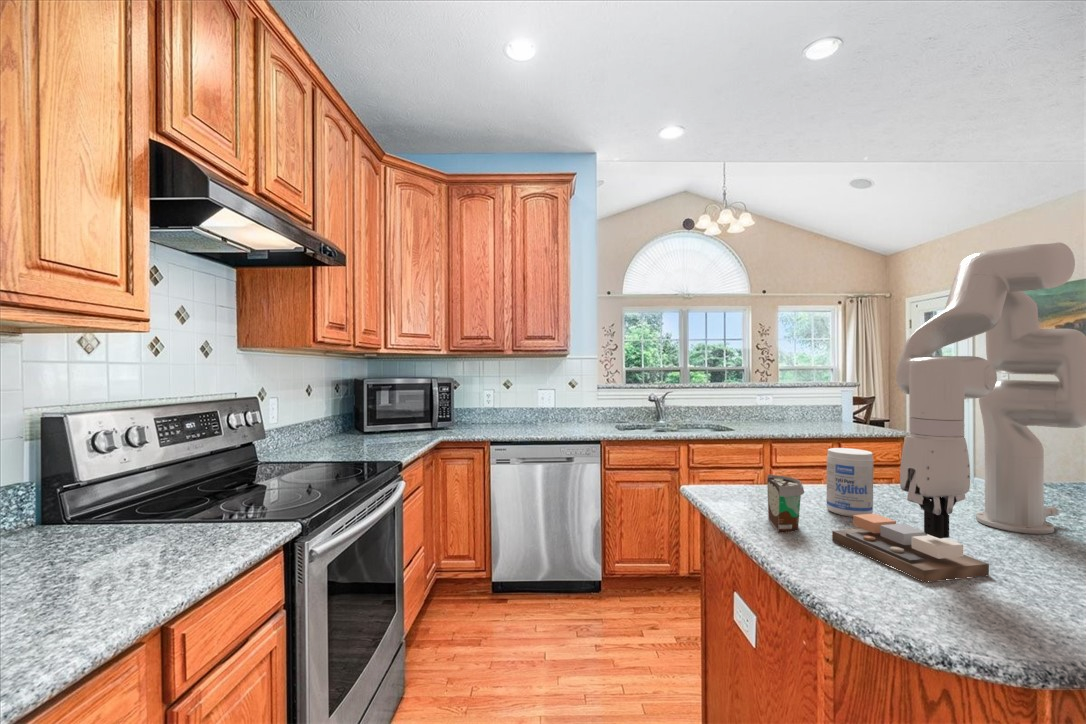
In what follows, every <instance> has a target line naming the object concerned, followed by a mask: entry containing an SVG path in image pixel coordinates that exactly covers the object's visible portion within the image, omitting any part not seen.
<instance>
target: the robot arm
mask: <svg viewBox="0 0 1086 724" xmlns="http://www.w3.org/2000/svg"><path fill="white" fill-rule="evenodd" d="M1075 266H1076V260H1075V256H1074V252H1073V250H1072V249H1071V247H1069V246H1068V245H1067V244H1065V243H1064V242H1052V243H1038V244H1027V245H1021V246H1014V247H1013V246H1012V247H1006V248H999V249H998V248H997V249H993V250H985V251H979V252H976V253H973V254H971V255H968V256H967V257H964V259H963V260H962V261H961V262H960V263H959V265H958V267H957V269H956V272H955V276H954V277H953V281H952V284H951V287H950V291H949V295H948V297H947V300H946V303H945V306H944V310H942V311H941V312H940V313H937V314H936V315H934V316H933V317H932V318H930V319H929V320H927V321H926V322H924V324H922V325H921V326H920V327H918V328H917V329H916V330H915V331H913V332H912V333H911V334H910V336H909V337H908V338H907V339H906V341H905V343H904V345H903V348H902V350H901V354H900V356H899V360H898V363H897V367H896V373H895V379H896V381H895V382H896V384H897V387H898V389H900V391H901V392H903V393H904V394H906V395H908V396H909V397H908V401H909V404H908V405H909V406H908V409H909V410H908V411H909V412H908V413H909V415H908V416H909V420H908V421H909V422H908V423H909V428H908V429H909V431H908V432H909V435H906V436H905V439H904V442H903V446H902V452H901V458H900V459H901V460H900V468H899V469H900V471H899V473H900V474H899V486H900V489H901V490H902V491H903V492H907V496H906V498H907V501H908V502H910V503H914V504H918V506H920V510H921V511H923V531H924V532H925V533H926V534H927V535H931V536H934V537H937V538H946V539H948V538H949V539H950V515H952V513H954V512H953V510H954V506H955V505H956V504H957V503H958V502H959V503H960V502H962V501H964V500H965V499H966V494H967V493H969V491H970V487H971V464H970V455H969V450H968V445H967V444H968V443H967V440H966V437H965V399H969V400H970V399H978V405H979V409H980V413H981V419H982V423H983V424H982V426H983V434H984V438H983V439H984V511H980V512H977V513H975V519H976V521H978V523H980V524H983V525H985V526H988V527H991V528H996V529H999V530H1004V531H1008V532H1016V533H1022V534H1030V535H1031V534H1032V535H1033V534H1034V535H1049V534H1052V533H1054V532H1055V525H1054V524H1052V523H1051V522H1050V521H1047V518H1048V517H1055V516H1057V515H1059V510H1058V508H1057V507H1056V506H1046V505H1044V504H1045V497H1044V495H1045V494H1044V493H1045V492H1044V491H1045V490H1044V489H1045V488H1044V487H1045V486H1044V485H1045V483H1044V481H1045V480H1044V479H1045V477H1044V475H1045V474H1044V473H1045V471H1044V464H1045V463H1044V462H1045V460H1044V459H1045V458H1044V456H1045V455H1044V454H1045V453H1044V446H1043V444H1042V442H1041V440H1040V439H1039V437H1037V436H1036V434H1035V433H1034V432H1033V431H1032V430H1031V429H1030V428H1029V427H1034V426H1035V427H1046V428H1048V427H1049V428H1061V429H1062V428H1064V429H1080V428H1083V427H1086V335H1085V333H1083V332H1082V331H1080V330H1078V329H1073V328H1044V329H1043V328H1040V326H1039V312H1038V311H1039V310H1038V309H1039V308H1038V305H1037V303H1036V302H1035V300H1033V299H1032V298H1031V297H1030V296H1029V295H1028V294H1027V293H1026V292H1025V291H1035V290H1037V291H1038V290H1048V289H1053V288H1057V287H1061V286H1063V285H1065V284H1066V283H1067V282H1068V281H1070V279H1071V278H1072V276H1073V274H1074V272H1075ZM984 333H985V352H986V353H985V354H986V359H985V358H983V357H980V356H975V355H974V356H973V355H964V356H963V355H956V356H955V355H954V356H953V355H952V356H951V355H940V356H938V355H937V356H936V355H933V354H934V353H935V352H937V351H938V350H940V349H943V348H944V347H947V346H949V345H952V344H955V343H958V342H961V341H964V340H967V339H970V338H973V337H976V336H979V335H982V334H984ZM997 373H999V374H1008V375H1036V376H1037V375H1042V376H1043V375H1045V376H1048V375H1050V376H1055V377H1056V379H1058V380H1057V381H1056V380H1055V381H1050V380H1049V381H1048V380H1024V379H1022V380H1021V379H1020V380H1017V379H1005V380H1002V379H1001V380H998V374H997ZM1028 426H1029V427H1028Z"/></svg>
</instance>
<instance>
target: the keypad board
mask: <svg viewBox="0 0 1086 724" xmlns="http://www.w3.org/2000/svg"><path fill="white" fill-rule="evenodd" d="M831 533H832V534H831V536H832V537H831V538H832V539H831V540H832V542H834V543H836V542H837V543H836V544H838V543H839V544H838V545H840V544H841V546H843V545H844V546H843V547H845V546H846V547H845V548H847V547H848V549H849V548H851V549H853V550H852V551H854V550H855V551H854V552H856V551H857V552H856V553H858V552H860V553H862V554H864V555H866V556H865V557H867V556H868V557H867V558H869V557H871V558H873V559H875V560H878V561H880V562H882V563H884V564H887V565H889V566H892V567H894V568H896V569H898V570H901V571H903V572H905V573H907V574H909V575H911V576H913V577H915V578H917V579H919V580H922V581H923V582H922V581H921V582H922V583H924V582H926V583H931V582H930V581H936V582H939V581H938V580H945V581H947V580H946V579H954V580H956V579H955V578H963V579H968V578H967V577H973V578H976V577H975V576H982V577H987V576H986V575H989V576H990V568H989V567H990V564H989V563H987V562H985V561H982V560H979V559H977V558H974V557H971V556H969V555H965V554H963V556H962V557H952V558H942V559H938V558H935V557H933V556H930V555H928V554H925V553H923V552H920V551H918V550H915V549H913V548H912V544H911V545H902V544H900V543H897V542H895V541H892V540H890V539H887V538H885V537H882V536H881V533H872V532H869V531H867V530H864V529H862V528H853V529H852V528H851V529H838V530H832V531H831ZM851 549H850V550H851ZM860 553H859V554H860ZM862 554H861V555H862ZM864 555H863V556H864ZM871 558H870V559H871ZM873 559H872V560H873ZM875 560H874V561H875ZM878 561H877V562H878ZM880 562H879V563H880ZM882 563H881V564H882ZM884 564H883V565H884ZM889 566H888V567H889ZM911 576H910V577H911ZM913 577H912V578H913ZM915 578H914V579H915ZM917 579H916V580H917ZM919 580H918V581H919ZM928 581H929V582H928Z"/></svg>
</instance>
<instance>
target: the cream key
mask: <svg viewBox="0 0 1086 724" xmlns="http://www.w3.org/2000/svg"><path fill="white" fill-rule="evenodd" d="M912 548H913V549H915V550H918V551H920V552H923V553H925V554H928V555H930V556H933V557H935V558H938V559H942V558H952V557H962V556H963V555H964V544H963V543H961V542H960V543H959V542H958V541H955V540H951V539H950V538H949V539H948V538H937V537H934V536H931V535H928V534H927V535H926V536H914V537H912Z"/></svg>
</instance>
